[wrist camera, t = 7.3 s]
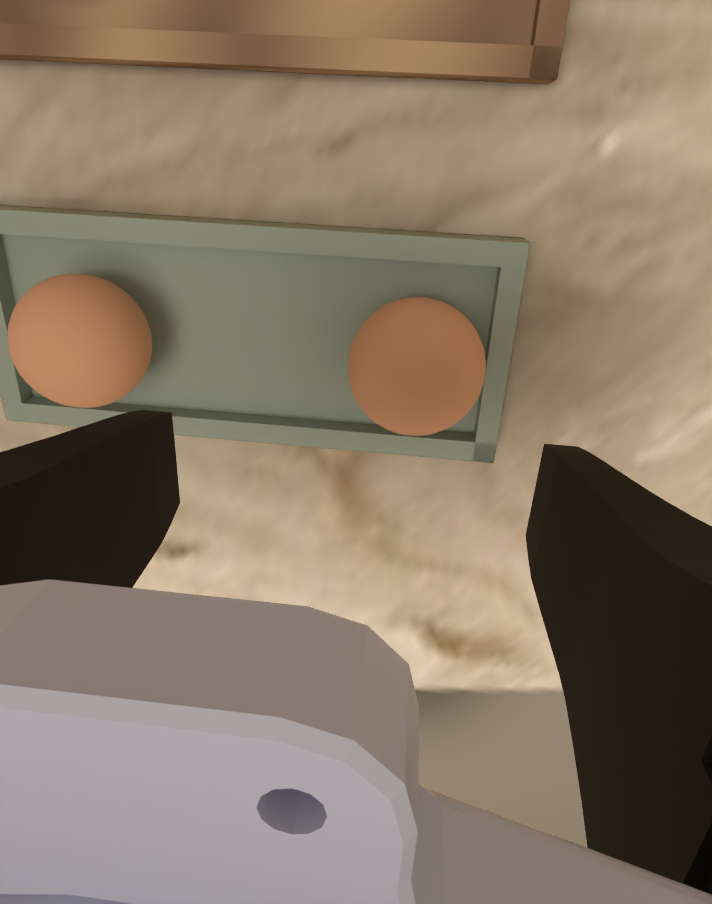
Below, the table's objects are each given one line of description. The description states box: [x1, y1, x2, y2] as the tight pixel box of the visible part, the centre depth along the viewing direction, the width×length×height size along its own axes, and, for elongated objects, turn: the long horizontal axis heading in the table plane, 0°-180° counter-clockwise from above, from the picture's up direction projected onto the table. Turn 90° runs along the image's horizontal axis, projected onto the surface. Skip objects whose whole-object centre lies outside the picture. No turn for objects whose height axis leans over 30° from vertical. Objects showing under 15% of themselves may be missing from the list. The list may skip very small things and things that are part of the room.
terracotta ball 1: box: [8, 274, 152, 408], centre depth 19 cm, size 4×4×4 cm
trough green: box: [0, 205, 530, 463], centre depth 20 cm, size 17×7×1 cm, turn 87°
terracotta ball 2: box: [348, 297, 486, 436], centre depth 18 cm, size 4×4×4 cm
